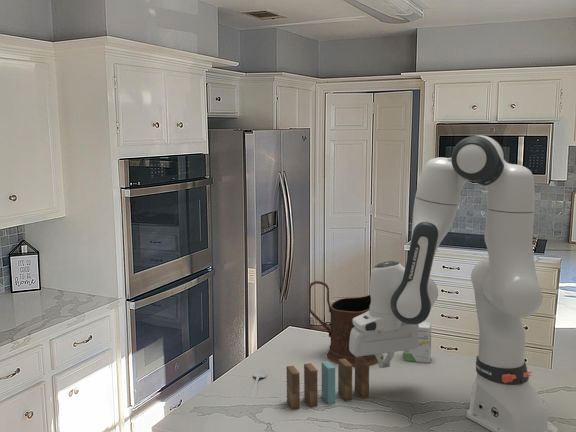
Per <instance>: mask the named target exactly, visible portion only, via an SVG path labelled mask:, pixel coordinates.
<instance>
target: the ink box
mask: <svg viewBox="0 0 576 432" xmlns="http://www.w3.org/2000/svg"><path fill="white" fill-rule="evenodd" d="M418 333H419V346H418V348H417V349H413V350H406V351H402V360H403V361H405V362H418V363H428V364H429V363H431V358H432V357H431V355H432V323H430V322H426V321H423V322H422V323H419V328H418Z"/></svg>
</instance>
